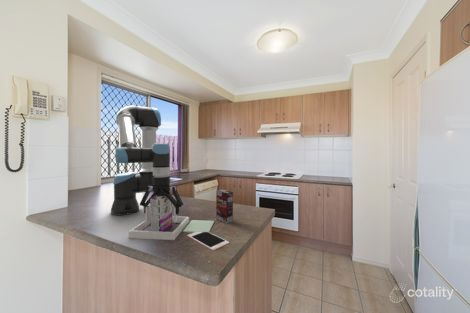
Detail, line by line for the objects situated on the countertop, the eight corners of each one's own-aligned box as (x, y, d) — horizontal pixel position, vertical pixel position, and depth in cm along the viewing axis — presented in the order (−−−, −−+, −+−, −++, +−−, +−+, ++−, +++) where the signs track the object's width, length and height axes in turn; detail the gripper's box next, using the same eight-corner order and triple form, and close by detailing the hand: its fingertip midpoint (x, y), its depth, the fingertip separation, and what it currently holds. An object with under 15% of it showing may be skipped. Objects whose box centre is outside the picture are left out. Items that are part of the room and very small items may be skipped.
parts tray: (128, 238, 85) (128, 231, 85) (151, 221, 105) (151, 215, 104) (174, 240, 83) (174, 233, 83) (188, 222, 103) (188, 216, 103)
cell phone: (203, 231, 93) (203, 229, 93) (229, 244, 81) (229, 242, 81) (186, 236, 87) (186, 234, 87) (212, 252, 74) (212, 249, 74)
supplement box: (215, 219, 108) (215, 190, 107) (222, 217, 111) (222, 189, 111) (226, 223, 102) (227, 193, 101) (233, 221, 105) (233, 191, 105)
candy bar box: (163, 224, 100) (163, 192, 99) (172, 225, 99) (172, 193, 98) (149, 234, 89) (149, 197, 88) (159, 235, 88) (159, 198, 87)
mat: (182, 232, 91) (182, 230, 91) (191, 221, 105) (191, 220, 105) (208, 233, 90) (208, 232, 90) (214, 221, 104) (214, 220, 104)
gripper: (131, 176, 90) (131, 222, 91) (184, 177, 88) (184, 224, 89) (140, 174, 98) (140, 217, 98) (189, 175, 96) (189, 218, 96)
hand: (161, 220), depth 94 cm, fingers open, 13 cm apart
